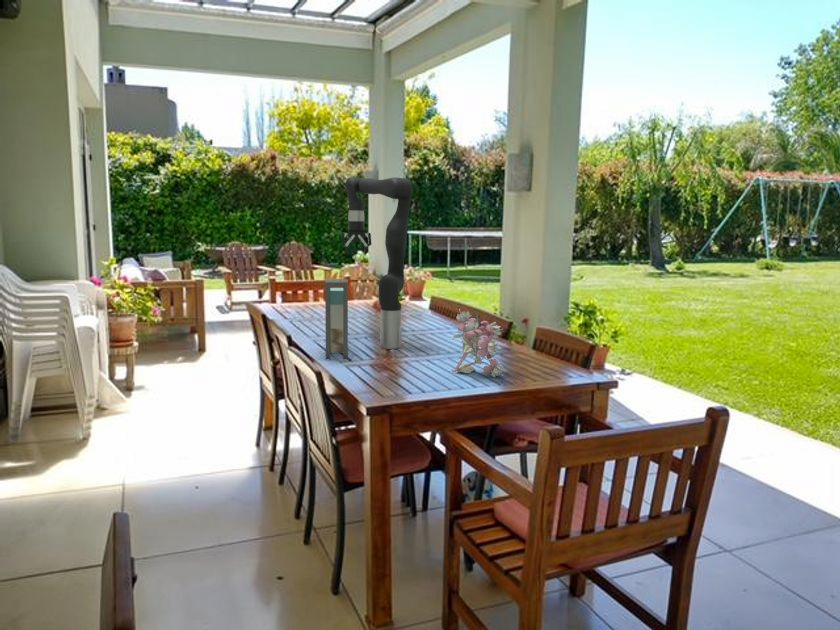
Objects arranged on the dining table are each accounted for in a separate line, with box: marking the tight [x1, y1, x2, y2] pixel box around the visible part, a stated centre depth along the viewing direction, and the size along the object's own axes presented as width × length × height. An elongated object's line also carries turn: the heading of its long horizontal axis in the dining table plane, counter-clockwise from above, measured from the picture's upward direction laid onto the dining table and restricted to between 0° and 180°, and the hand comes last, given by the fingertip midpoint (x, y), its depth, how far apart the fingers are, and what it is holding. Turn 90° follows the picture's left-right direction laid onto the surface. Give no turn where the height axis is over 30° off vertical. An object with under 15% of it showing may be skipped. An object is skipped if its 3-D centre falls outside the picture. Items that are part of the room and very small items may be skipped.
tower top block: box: [330, 305, 343, 329], centre depth 285 cm, size 8×12×10 cm, turn 7°
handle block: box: [330, 287, 343, 305], centre depth 288 cm, size 7×21×6 cm, turn 7°
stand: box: [324, 278, 349, 360], centre depth 272 cm, size 9×12×32 cm
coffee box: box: [462, 313, 481, 354], centre depth 288 cm, size 9×6×16 cm
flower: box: [450, 308, 504, 378], centre depth 246 cm, size 20×22×25 cm
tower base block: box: [331, 329, 343, 353], centre depth 287 cm, size 8×12×10 cm, turn 7°
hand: (356, 254), depth 311 cm, fingers open, 8 cm apart
